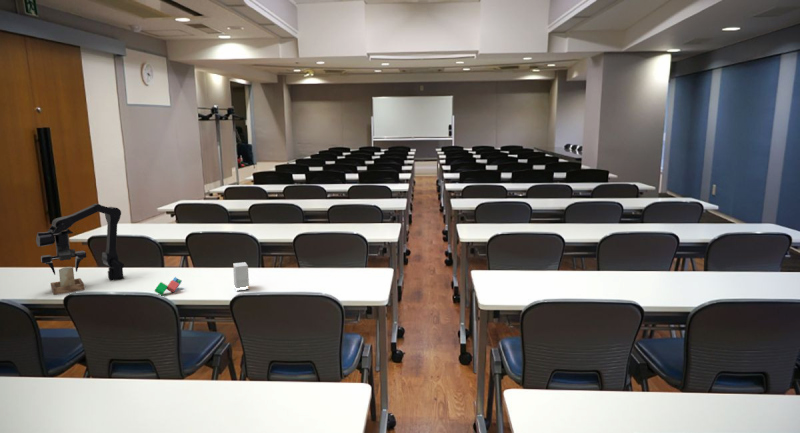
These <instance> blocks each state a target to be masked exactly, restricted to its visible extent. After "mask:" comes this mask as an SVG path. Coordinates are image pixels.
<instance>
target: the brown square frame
mask: <svg viewBox="0 0 800 433" xmlns="http://www.w3.org/2000/svg"><path fill="white" fill-rule="evenodd" d="M74 281H75V285H70V286H64V287H61V286H60V280H59V281H53V282H50V289H51V291H52V293H53V295H54V296H55V295H59V294H66V293H72V292H77V291H83V290H84V291H85V283H84V282H83V280H82V279H81V278H74Z"/></svg>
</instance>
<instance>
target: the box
mask: <svg viewBox="0 0 800 433" xmlns="http://www.w3.org/2000/svg"><path fill="white" fill-rule="evenodd" d="M58 276H59V281H60V286H61V287H64V286H70V285H75V281H74V279H75V273H74V266H66V267H62V268H59V269H58Z"/></svg>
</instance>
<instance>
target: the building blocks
mask: <svg viewBox="0 0 800 433" xmlns="http://www.w3.org/2000/svg"><path fill="white" fill-rule="evenodd" d="M182 281H183V280H181V279H179V278H178V277H176V276H174V277H173V279H172V280H171V281H170V282H169V283H168V284H166V283H164V282H162V281H160V282H158V283H159V284H158V285H157V286H156V288H155V289H154V292H155V293H157V294H159V295H160V294H161V295H160V296H163V294H164V293H165V292H166V290H167V291H169V292H171V293H172V292H174V293H175V291H176V290H177V289H178V288H179V286H180V285H181V283H182Z"/></svg>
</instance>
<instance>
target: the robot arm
mask: <svg viewBox="0 0 800 433" xmlns="http://www.w3.org/2000/svg"><path fill="white" fill-rule="evenodd" d="M96 213H101V214H104V216H105V220H106V224H107V229H106V230H107V231H106V249H105V251H104V252H102V253H101V259H100V260H101V261H102V263H103V264H104V265H105V266H107V268H108V270H107V277H108V279H109V280H110V281H116V280H122V279H123V280H124V279H125V277H124V272H123V268H124V267H125V264H124V263H123V262H122V261H120V258H119V254H118V251H117V240H118V239H117V236H118V223H119V222H120V219H121V215H122V210H121V209H119V208H118V207H115V206H105V205H101V204H99V203H93V204H91V205H89V206H87V207H85V208H83V209H79V211H76V212H74V213H72V214H69V215H66V216H65V215H64V216H60V217H57V218H54V219H53V220H52V222H51V225H50V227H49V229H48V230H47V231H45V232H44V231H43V232H36V233H37V234H36V239H35V242H36V245H37V247H46V246H52V245H54V244H55V251H56V255H51V254H46V255H45V254H43V255H41V256H40V262H41V264H44V265H48V266H49V268H50V270H52V272H53V275H54V276H55V275H56V270H55V266H54V264H53V261H56V260H59V261H62V262H63V261H70V260H71V259H72V258H75V259H74V260H75V261H74V262H75V264H74V265H75V266H74V267H75V272H76V273H77V272H78V269H79V266H80V263H81V261H82V260H84V259H85V258H87V253H86V251H84V250H78V251H76V249H75V248H71V247H70V246H71V245H70V238H69V234H70V235H71V234H73V233H74V232H73V231H71V229H69V228H71V227H72V226H73V225H74V224H75V223H77V222H79V221H81V220H83V219H85V218H88V217H90V216H92V215H94V214H96Z"/></svg>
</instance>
